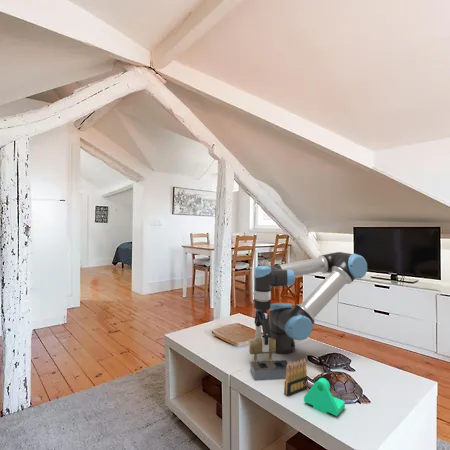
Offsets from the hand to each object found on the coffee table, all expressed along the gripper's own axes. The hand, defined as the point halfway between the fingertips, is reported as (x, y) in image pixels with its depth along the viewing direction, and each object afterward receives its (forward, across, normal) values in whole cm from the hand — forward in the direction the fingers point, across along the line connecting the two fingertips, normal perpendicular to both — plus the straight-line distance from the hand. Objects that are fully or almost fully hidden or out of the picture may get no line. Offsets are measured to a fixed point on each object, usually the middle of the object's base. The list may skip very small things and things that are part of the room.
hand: (261, 345), depth 141 cm
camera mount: (+8, +35, +14) cm, 39 cm away
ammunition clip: (+8, +25, +7) cm, 27 cm away
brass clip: (+8, 0, 0) cm, 8 cm away
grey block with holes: (+8, +11, +1) cm, 14 cm away
